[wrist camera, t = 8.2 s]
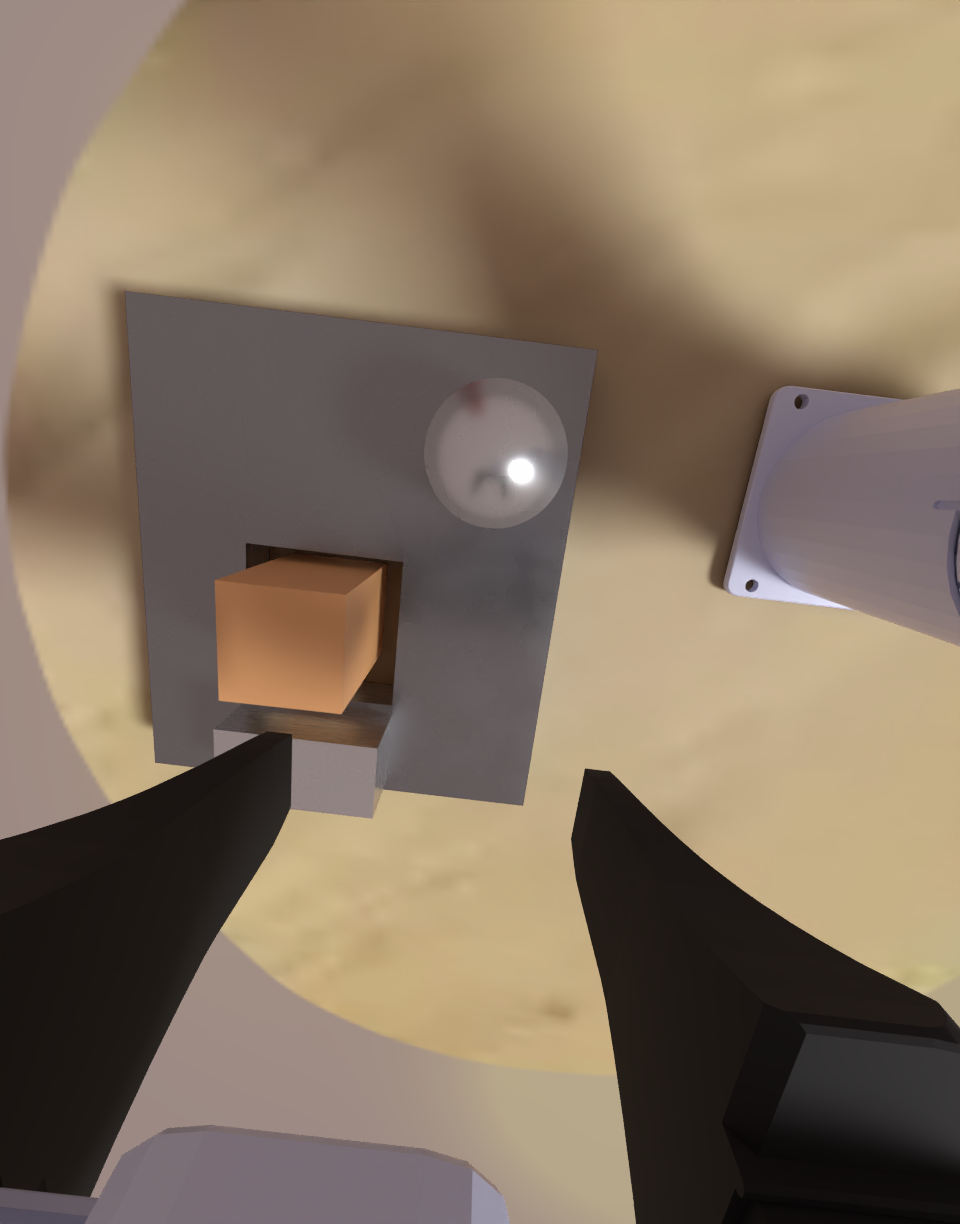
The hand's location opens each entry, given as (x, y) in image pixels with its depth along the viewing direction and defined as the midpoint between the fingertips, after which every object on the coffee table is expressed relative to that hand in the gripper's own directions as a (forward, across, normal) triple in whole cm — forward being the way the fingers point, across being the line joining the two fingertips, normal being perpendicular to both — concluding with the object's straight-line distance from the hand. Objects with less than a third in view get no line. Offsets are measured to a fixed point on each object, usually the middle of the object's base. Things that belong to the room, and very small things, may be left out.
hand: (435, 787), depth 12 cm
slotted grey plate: (+10, +4, -3) cm, 11 cm away
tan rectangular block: (+10, +6, -2) cm, 12 cm away
